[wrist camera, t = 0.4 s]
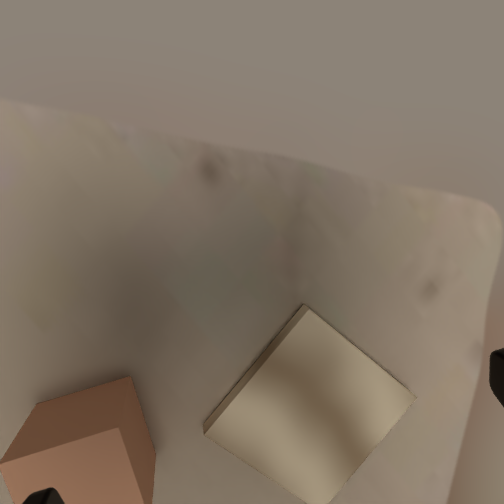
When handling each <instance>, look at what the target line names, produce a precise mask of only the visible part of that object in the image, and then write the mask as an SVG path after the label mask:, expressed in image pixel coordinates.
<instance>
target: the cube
mask: <svg viewBox="0 0 504 504" xmlns="http://www.w3.org/2000/svg"><path fill="white" fill-rule="evenodd" d="M155 460H156V453H155V450H154V447H153V444H152V441H151V438H150V435H149V432H148V429H147V425H146V422H145V419H144V416H143V413H142V410H141V407H140V404H139V401H138V397H137V394H136V391H135V388H134V385H133V382H132V379H131V376H129V377H125V378H122V379H119V380H115V381H112V382H109V383H105V384H102V385H99V386H95V387H92V388H89V389H85V390H82V391H79V392H75V393H72V394H68V395H65V396H62V397H58V398H55V399H52V400H48V401H45V402H42V403H38V404H36V406H35V407H34V409H33V410H32V412H31V414H30V415H29V417H28V418H27V420H26V421H25V423H24V425H23V426H22V428H21V429H20V431H19V433H18V434H17V436H16V437H15V439H14V440H13V442H12V444H11V445H10V447H9V448H8V450H7V452H6V453H5V455H4V456H3V458H2V459H1V461H0V470H1V473H2V475H3V478H4V480H5V483H6V485H7V487H8V490H9V492H10V495H11V497H12V500H13V502H14V504H22V503H23V502H24V501H25V499H26V498H27V497H28V496H29V495H30V494H32V493H33V492H36V491H40V490H43V489H46V488H49V487H53V488H55V489H56V490H57V491H58V493H59V494H60V496H61V498H62V499H63V501H64V503H65V504H152V499H153V486H154V473H155Z"/></svg>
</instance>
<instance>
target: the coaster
mask: <svg viewBox="0 0 504 504" xmlns="http://www.w3.org/2000/svg"><path fill="white" fill-rule="evenodd" d="M416 399H417V397H416V396H415V395H414V394H413V393H412V392H410V391H409V390H408V389H407V388H406V387H405V386H403V385H402V384H401V383H400V382H398V381H397V380H396V379H395V378H394V377H392V376H391V375H390V374H389V373H387V372H386V371H385V370H384V369H383V368H381V367H380V366H379V365H378V364H377V363H375V362H374V361H373V360H372V359H370V358H369V357H368V356H367V355H366V354H364V353H363V352H362V351H361V350H359V349H358V348H357V347H356V346H355V345H353V344H352V343H351V342H350V341H348V340H347V339H346V338H345V337H344V336H342V335H341V334H340V333H339V332H337V331H336V330H335V329H334V328H333V327H331V326H330V325H329V324H328V323H326V322H325V321H324V320H323V319H322V318H320V317H319V316H318V315H317V314H316V313H314V312H313V311H312V310H311V309H309V308H308V307H307V306H306V305H305V304H303V306H302V307H301V308H300V309H299V310H298V311H297V313H296V314H295V315H294V316H293V317H292V319H291V320H290V321H289V322H288V323H287V325H286V326H285V327H284V328H283V329H282V331H281V332H280V333H279V334H278V335H277V337H276V338H275V339H274V340H273V341H272V343H271V344H270V345H269V346H268V347H267V349H266V350H265V351H264V352H263V353H262V355H261V356H260V357H259V358H258V359H257V361H256V362H255V363H254V364H253V365H252V367H251V368H250V369H249V370H248V371H247V373H246V374H245V375H244V376H243V377H242V379H241V380H240V381H239V382H238V383H237V385H236V386H235V387H234V388H233V389H232V391H231V392H230V393H229V394H228V395H227V397H226V398H225V399H224V400H223V401H222V403H221V404H220V405H219V406H218V407H217V409H216V410H215V411H214V412H213V413H212V415H211V416H210V417H209V418H208V419H207V421H206V422H205V423H204V424H203V430H204V435H205V436H206V437H208V438H209V439H211V440H212V441H214V442H215V443H217V444H218V445H220V446H221V447H223V448H224V449H226V450H227V451H229V452H230V453H232V454H233V455H235V456H236V457H238V458H239V459H241V460H242V461H244V462H245V463H247V464H248V465H250V466H251V467H253V468H254V469H256V470H257V471H259V472H260V473H262V474H263V475H265V476H266V477H268V478H269V479H271V480H272V481H274V482H275V483H277V484H278V485H280V486H281V487H283V488H284V489H286V490H287V491H289V492H290V493H292V494H293V495H295V496H296V497H298V498H299V499H301V500H302V501H304V502H305V503H307V504H328V503H329V502H330V501H331V500H332V498H333V497H334V496H335V495H336V494H337V493H338V491H339V490H340V489H341V488H342V487H343V485H344V484H345V483H346V482H347V481H348V479H349V478H350V477H351V476H352V475H353V473H354V472H355V471H356V470H357V469H358V468H359V466H360V465H361V464H362V463H363V462H364V460H365V459H366V458H367V457H368V456H369V454H370V453H371V452H372V451H373V450H374V449H375V447H376V446H377V445H378V444H379V443H380V441H381V440H382V439H383V438H384V437H385V435H386V434H387V433H388V432H389V431H390V430H391V428H392V427H393V426H394V425H395V424H396V422H397V421H398V420H399V419H400V418H401V416H402V415H403V414H404V413H405V412H406V411H407V409H408V408H409V407H410V406H411V405H412V403H413V402H414V401H415V400H416Z"/></svg>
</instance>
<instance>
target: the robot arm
mask: <svg viewBox="0 0 504 504" xmlns="http://www.w3.org/2000/svg"><path fill="white" fill-rule="evenodd" d="M489 382H490V387H491V389H492V391H493V393H494V395H495V396H496V397H497V399H498V400H499V402H500V403H501V404H502V405H503V407H504V348H502V349H499V350H495V351H493V352H492V353H491V355H490V372H489ZM22 504H65V503H64V501H63V499H62V498H61V496H60V494H59V493H58V491H57V490H56V489H55V488H53V487H49V488H46V489H43V490H40V491H36V492H33V493H32V494H30V495H29V496H28V497H27V498H26V499H25V501H24V502H23V503H22Z"/></svg>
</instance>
